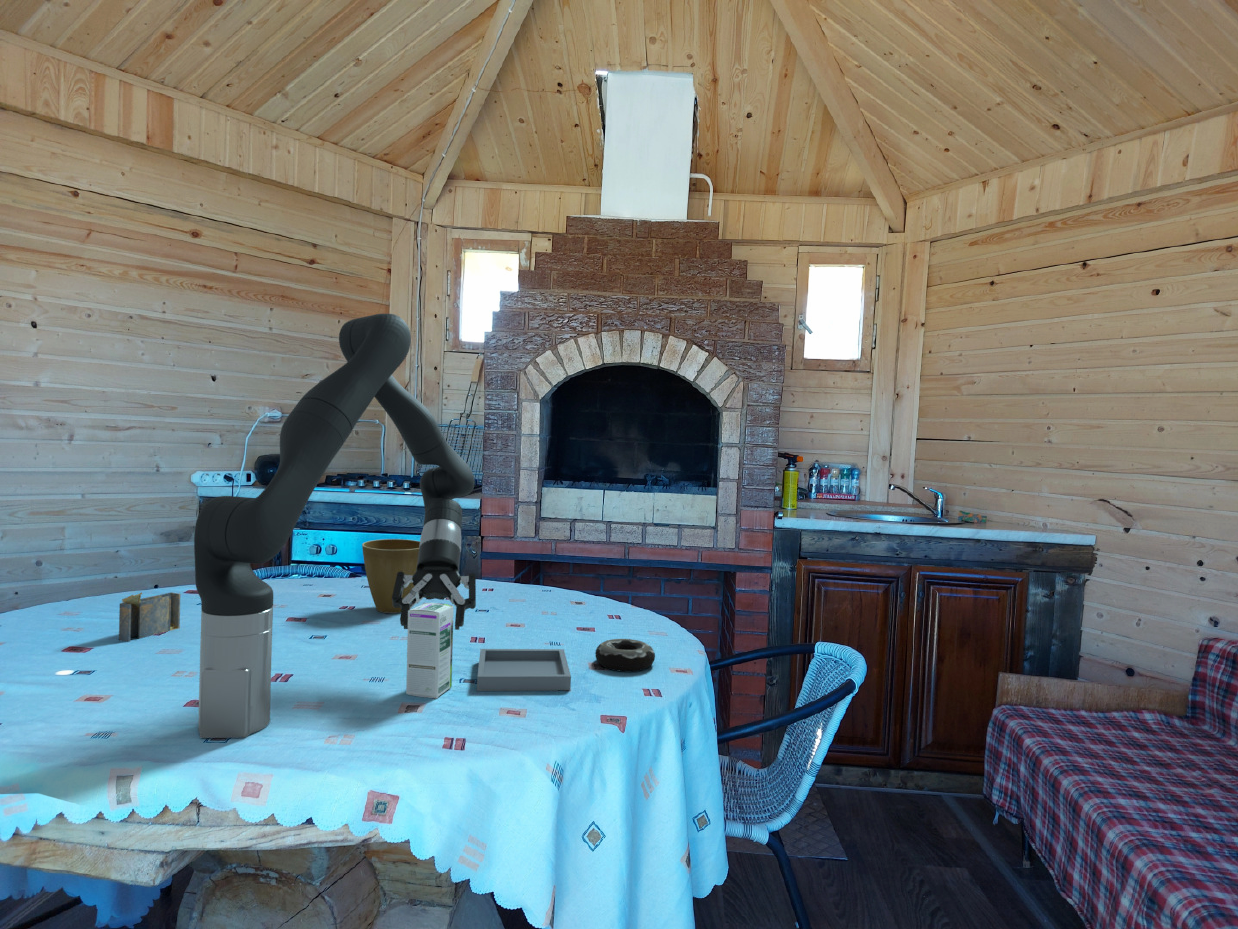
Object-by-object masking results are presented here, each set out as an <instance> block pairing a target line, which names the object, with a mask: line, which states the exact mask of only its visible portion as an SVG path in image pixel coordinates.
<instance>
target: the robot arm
mask: <svg viewBox="0 0 1238 929" xmlns="http://www.w3.org/2000/svg"><path fill="white" fill-rule="evenodd" d="M411 336H412V335H411V330H410V327H409V325H408V324H407V322H406V320H404V319H403V318H402V317H400V315H399V316H398V315H397V314H393V313H377V314H372V315H367V316H363V317H358V318H354V319H350V320H348V321H346V322H345V323H344V324H343V325H342V327H341V328H340V331H339V334H338V343H339V347H340V351H341V353H342V355H343V357H344V359H345V360H346V361H347V362H346V363H344V364H343V365H342V366H341V367H339V368H338V369H337V370H335V371H334V372H332V373H331V374H329V375H327V376H326V377H325V378H323V379H322V380H320V382H318V383H317V384H316V385H314V386H313V387H311V389H309V390H308V391H307V392H306V393H305V394H304V395H303V396H302V397H301V398H300V400H299V401H298V402H297V404H296V405H295V406H294V408H293V409H292V410H291V412H290V413H289V414H288V416H287V417H286V419H284V422H283V424H282V426H281V428H280V429H281V430H280V435H279V464H278V468H277V470H276V472H275V473H274V475H273V477H272V478H271V480H270V482H269V483H268V484H267V486H266V487H265V488H264V489H263V490H262V492H261V493H259V495H258V496H256V497H255V498H254V497H248V496H247V497H246V496H245V497H244V496H234V495H221V496H217V497H214V498H212V499H210V500H208V501H207V502H206V503H205V504H204V505H203V507H201V509H200V512H199V513H198V516H197V519H196V522H195V525H194V526H195V527H194V532H193V534H194V535H193V536H194V538H193V541H194V543H193V549H194V550H193V552H194V576H195V578H194V579H195V589H196V591H197V593H198V596H199V598H200V603H201V604H200V606H201V607H200V610H201V612H200V613H201V614H200V616H201V617H200V644H199V645H200V649H199V678H198V680H199V685H198V723H197V724H198V725H197V730H198V732H199V738H200V739H217V738H218V739H219V738H221V739H222V738H223V739H224V738H226V739H227V738H235V739H236V738H238V739H239V738H247V737H249V735H251V734H253V733H256V732H258V731H261V730H263V729H265V728H266V727H267V726H268V725H269V724H270V720H271V718H270V717H271V696H272V695H271V691H272V690H271V688H272V687H271V686H272V658H273V655H272V654H273V653H272V652H273V649H272V647H273V624H274V623H273V620H274V616H273V615H274V590H273V588H272V587H271V585H270V584H268V583H266V582H265V581H264V580H262V579H261V578H260V577H259V576H258V575H257V574H256V573H255V572H254V571H253V569H252V566H251V564H254V565H255V564H265V563H268V562H269V561H271V560H272V559H274V558H275V557H277V555H278V554H279V553H280V552H281V551H282V549H283V548H284V546H285V545H286V543H287V542H288V540H289V538H290V537H291V535H292V533H293V531H294V529H295V527H296V526H297V522H298V521H299V519H300V517H301V515H302V513H303V511H304V508H305V507H306V505H307V502H308V501H309V499H310V497H311V496H312V494H313V492H314V490H315V488H316V486H317V485H318V483H320V480H321V479H322V477H323V476H324V473H325V472H326V471H327V469H328V468H329V465H330V464H331V463H332V461H333V459H334V458H335V457H336V455H337V454H338V452H339V451H340V450H341V449H342V447H343V446H344V443H346V441H347V439H348V437H349V436H350V435H351V433H352V431H354V428H355V427H356V425H357V423H358V422H359V420H360V418H362V415H363V414H364V413H365V411H366V410H367V409H368V407H369V406H370V405H371V402H372V401H373V400H374V398H375V399H376V401H377V402H378V403H379V405H380V406H381V407H382V409H383V410H384V412H386V414H387V415H388V417H389V418H390V420H391V421H392V423H393V424H394V426H395V427H396V429H397V431H398V432H399V434H400V436H401V437H402V439H403V442H404V443H405V445H406V447H407V448H408V450H409V452H410V454H411V457H412V458H413V460H414V461H415V462H416V463H417V464H419V465H421V466H424V465H425V466H428V465H429V466H431V465H432V466H437V467H432V468H429V469H427V470H426V471H425V472H423V473H422V475H421V476H420V480H419V488H420V493H421V496H422V500H423V507H424V519H423V528H422V530H421V531H422V532H421V535H420V539H419V541H420V546H419V553H418V561H417V568H416V572H415V574H414V575H404V573H403V572H398V573H397V577H396V581H395V586H394V590H393V594H392V602H393V607H395V608H398V607H399V608H401V612H400V615H399V617H400V618H399V622H400V627H403V629H404V630H408V611H409V610H410V609H413V608H414V606H415V605H416V604H419V603H420V602H421V601H422V600H423V599H424V598H425V600H429V601H431V600H435V599H437V600H443V601H444V600H445V599H448V601H449V602H450V603H451V605H453V606H455V608H456V609H455V619H454V630H455V631H458V630H459V631H460V627H461V628H462V627H463V626H464V622H465V613H466V610H468V609H470V610H473V609H476V606H477V604H476V603H477V602H476V601H477V599H476V598H477V595H476V594H477V593H476V592H477V591H476V590H477V589H476V588H477V584H476V579H477V577H476V576H477V574H475V573H473V572H471V573H469V575H466V576H465V575H462V576H461V574H460V561H461V552H462V524H463V523H462V521H463V507H462V506H461V504H460V503H459V502H458V501H456V500H454V499H459V498H462V497H465V496H468V495H470V494H471V493H472V492H473V490H474V488H475V483H476V482H475V474H474V473H473V471H472V469H471V467H470V466H469V464H468V463H467V462H466V461H465V460H464V459H463V458H462V457H461V456H460V455H459V453H457V451H456V450H454V448H453V447H452V446H451V445H450V444H449V443H448V442H447V440H446V438H445V436H444V434H443V432H442V431H441V428H440V426H439V424H438V422H437V420H436V419H435V416H433V414H432V413H431V411H430V410H429V409H428V408H427V407H426V406H425V405H424V404H423V403H422V402H421V401H420V400H419V399H417V398H416V397H415V396H413V395H412V394H411V393H410V392H409V391H407V389H405V387H403V386H402V384H401V383H400V382H399V381H397V379H396V378H395V376H394V375H393V373H395V371H397V370H398V368H399V367H400V366H401V365H402V363H403V362H404V361H405V359H406V357H407V355H408V353H409V351H410V348H411V340H412V337H411ZM412 582H413V585H414V586H415V587H413V588H412V589H411V591H410V593H409V594H408V595H407V596H406V597H405V598H402V593H403V589H404V588H406V587H407V586H408V584H409V583H412ZM461 584H462V585H463V586H464V588H466V589H467V590H468V597H467V598H464V597H463V596H462V595H461V594H460V592H459V590H458V588H459V586H460V585H461Z"/></svg>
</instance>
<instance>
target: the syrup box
mask: <svg viewBox="0 0 1238 929" xmlns="http://www.w3.org/2000/svg"><path fill="white" fill-rule="evenodd" d="M406 636H407V637H406V638H407V639H406V640H407V643H406V645H407V647H406V686H405V687H406V688H405V693H406V695H408V696H414V697H421V698H427V699H428V698H429V699H430V698H431V699H438V698H439V697H440V696H441V695H443V694H444V693H445V692H447V691H448V690H450V689H452V686H453V682H452V681H453V650H454V649H453V647H454V646H453V643H454V642H453V641H454V604H448V603H440V602H423V603H422V604H420V605H418V606H415V607H412V608H411V609H410V610H409V611H408V629H407V635H406Z"/></svg>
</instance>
